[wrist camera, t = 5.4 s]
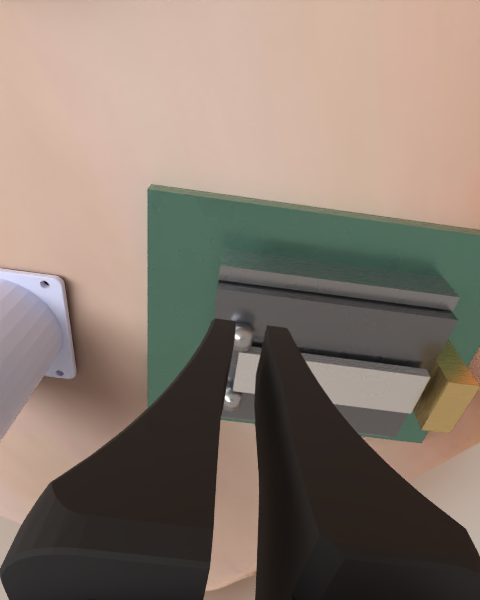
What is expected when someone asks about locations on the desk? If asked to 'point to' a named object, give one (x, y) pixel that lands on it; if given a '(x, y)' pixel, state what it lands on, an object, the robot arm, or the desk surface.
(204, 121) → the desk surface
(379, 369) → the grey flat bar
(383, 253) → the circuit board
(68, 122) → the desk surface
